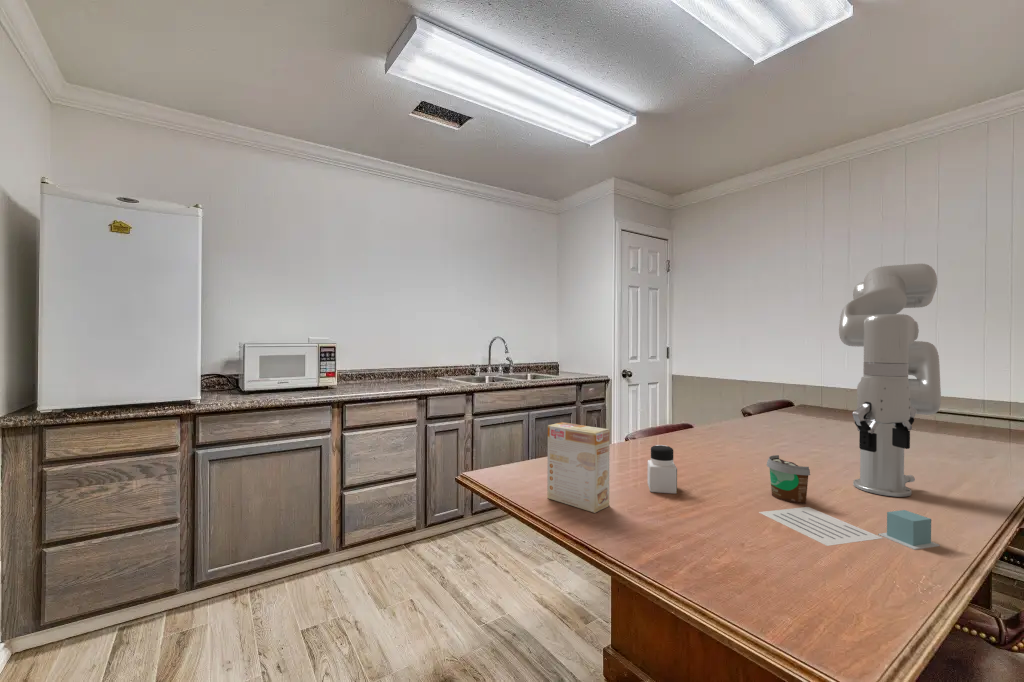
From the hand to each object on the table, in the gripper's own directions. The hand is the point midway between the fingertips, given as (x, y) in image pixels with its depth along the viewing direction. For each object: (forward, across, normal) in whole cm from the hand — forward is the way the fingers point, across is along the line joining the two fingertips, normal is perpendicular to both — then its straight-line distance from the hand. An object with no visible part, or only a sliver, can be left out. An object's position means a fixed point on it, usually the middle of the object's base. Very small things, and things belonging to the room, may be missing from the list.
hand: (884, 448), depth 98 cm
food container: (+19, +4, -23) cm, 30 cm away
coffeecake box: (+18, +58, -34) cm, 69 cm away
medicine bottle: (+18, +31, -37) cm, 52 cm away
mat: (+18, 0, +4) cm, 19 cm away
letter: (+18, +11, -7) cm, 22 cm away
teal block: (+18, 0, +5) cm, 18 cm away
